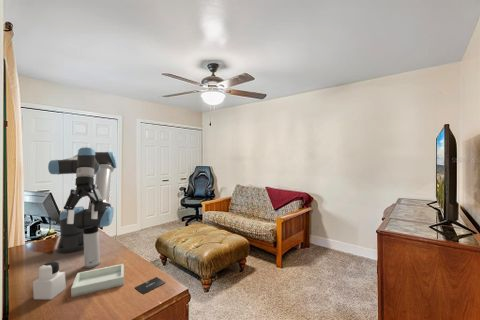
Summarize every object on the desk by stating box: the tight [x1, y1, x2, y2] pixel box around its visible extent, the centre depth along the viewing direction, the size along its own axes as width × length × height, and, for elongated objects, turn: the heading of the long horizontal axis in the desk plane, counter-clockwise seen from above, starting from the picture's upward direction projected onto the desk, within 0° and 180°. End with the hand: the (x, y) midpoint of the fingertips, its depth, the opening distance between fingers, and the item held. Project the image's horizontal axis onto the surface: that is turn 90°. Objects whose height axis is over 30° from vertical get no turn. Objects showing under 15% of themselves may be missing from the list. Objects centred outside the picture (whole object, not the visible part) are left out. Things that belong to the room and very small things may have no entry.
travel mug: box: [83, 225, 101, 269], centre depth 115 cm, size 6×7×20 cm
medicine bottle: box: [32, 261, 67, 300], centre depth 92 cm, size 7×7×12 cm
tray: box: [70, 263, 125, 298], centre depth 100 cm, size 13×18×4 cm
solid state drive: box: [134, 276, 166, 295], centre depth 97 cm, size 7×10×1 cm
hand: (82, 221), depth 109 cm, fingers open, 13 cm apart
